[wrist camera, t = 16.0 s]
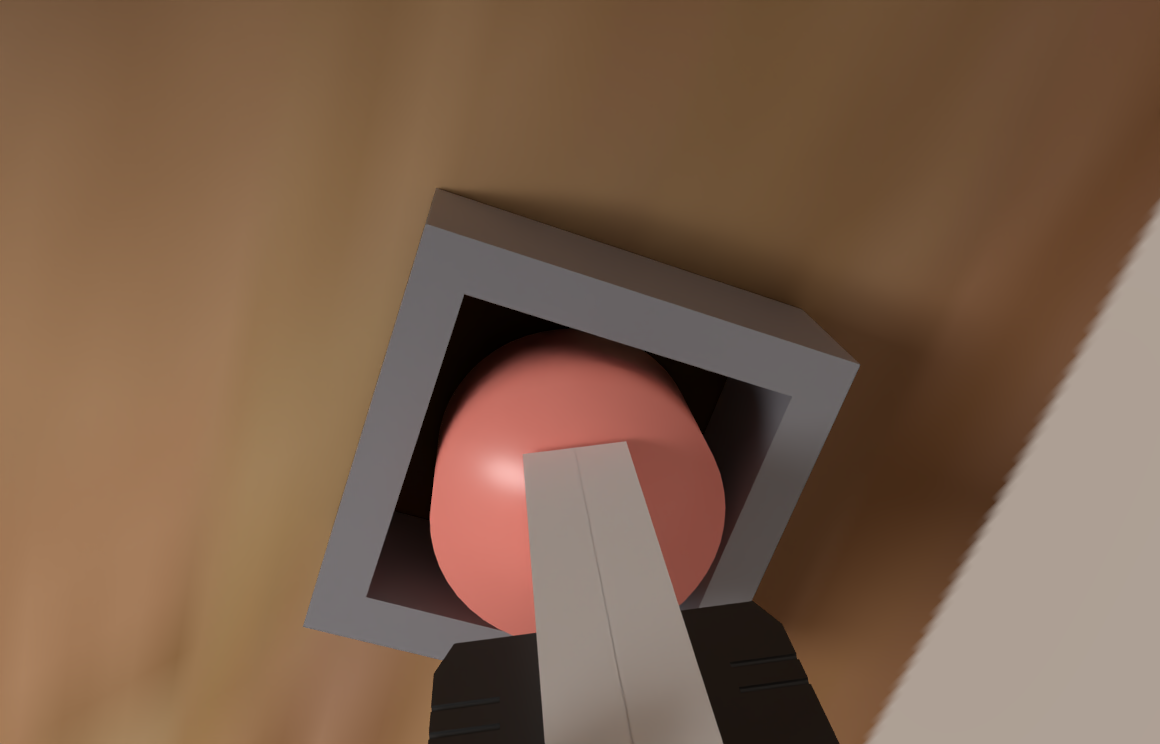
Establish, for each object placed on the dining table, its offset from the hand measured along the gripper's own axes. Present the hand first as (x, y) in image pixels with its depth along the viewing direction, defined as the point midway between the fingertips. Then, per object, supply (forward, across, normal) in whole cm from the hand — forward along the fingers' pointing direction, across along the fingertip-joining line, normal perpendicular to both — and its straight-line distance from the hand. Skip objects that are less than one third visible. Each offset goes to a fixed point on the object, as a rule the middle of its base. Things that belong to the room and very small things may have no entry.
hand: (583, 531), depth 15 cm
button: (+3, 0, 0) cm, 3 cm away
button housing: (+4, 0, 0) cm, 4 cm away
